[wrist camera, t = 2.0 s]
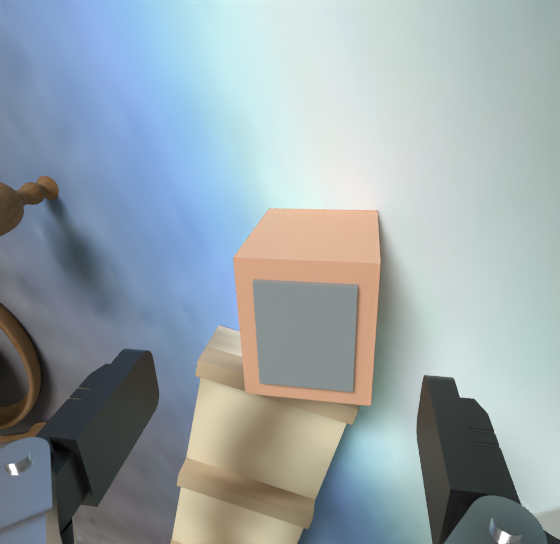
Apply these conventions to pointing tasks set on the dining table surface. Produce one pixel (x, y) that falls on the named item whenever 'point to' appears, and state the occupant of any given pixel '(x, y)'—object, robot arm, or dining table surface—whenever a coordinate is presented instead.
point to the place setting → (3, 218)
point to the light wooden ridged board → (252, 456)
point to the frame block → (310, 304)
